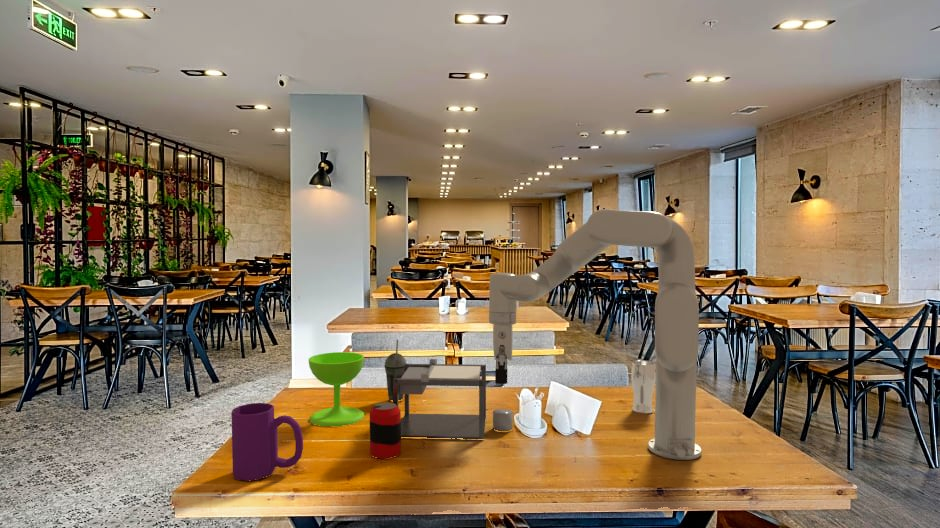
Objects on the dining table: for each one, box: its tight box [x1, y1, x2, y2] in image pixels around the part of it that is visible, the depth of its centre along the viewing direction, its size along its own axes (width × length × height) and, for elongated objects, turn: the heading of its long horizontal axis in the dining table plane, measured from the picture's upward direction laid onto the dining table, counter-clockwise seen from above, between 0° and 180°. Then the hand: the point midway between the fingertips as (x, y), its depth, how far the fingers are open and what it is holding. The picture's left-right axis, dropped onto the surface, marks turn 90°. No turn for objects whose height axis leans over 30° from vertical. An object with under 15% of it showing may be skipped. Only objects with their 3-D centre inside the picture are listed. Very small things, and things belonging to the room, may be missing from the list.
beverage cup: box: [383, 339, 407, 401], centre depth 182 cm, size 7×7×20 cm
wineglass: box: [308, 351, 365, 427], centre depth 165 cm, size 16×16×18 cm
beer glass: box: [630, 359, 656, 415], centre depth 171 cm, size 7×7×15 cm
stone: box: [492, 408, 514, 431], centre depth 155 cm, size 6×6×5 cm
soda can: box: [369, 402, 402, 458], centre depth 138 cm, size 8×8×12 cm
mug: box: [230, 402, 304, 482], centre depth 126 cm, size 9×16×15 cm, turn 94°
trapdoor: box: [400, 364, 481, 395], centre depth 155 cm, size 15×21×5 cm
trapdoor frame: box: [392, 358, 487, 440], centre depth 156 cm, size 18×24×18 cm
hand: (501, 378), depth 155 cm, fingers open, 9 cm apart
